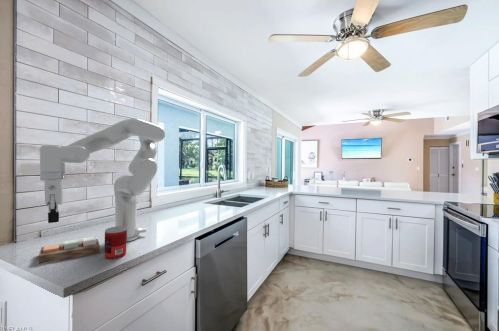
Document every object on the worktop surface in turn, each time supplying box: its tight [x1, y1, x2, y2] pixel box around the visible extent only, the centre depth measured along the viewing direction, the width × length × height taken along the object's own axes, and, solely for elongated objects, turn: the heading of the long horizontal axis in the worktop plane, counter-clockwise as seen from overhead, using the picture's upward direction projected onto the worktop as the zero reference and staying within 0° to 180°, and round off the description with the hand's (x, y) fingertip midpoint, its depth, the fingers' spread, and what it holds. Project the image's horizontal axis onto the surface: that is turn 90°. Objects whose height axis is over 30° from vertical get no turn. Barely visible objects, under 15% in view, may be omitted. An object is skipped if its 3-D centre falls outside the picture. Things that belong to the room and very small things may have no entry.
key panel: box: [37, 238, 101, 265], centre depth 94 cm, size 19×11×3 cm, turn 128°
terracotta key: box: [43, 244, 59, 253], centre depth 90 cm, size 5×5×3 cm
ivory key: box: [82, 236, 97, 246], centre depth 98 cm, size 5×5×3 cm
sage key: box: [63, 238, 79, 249], centre depth 94 cm, size 5×5×3 cm
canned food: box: [103, 226, 128, 260], centre depth 93 cm, size 8×8×11 cm
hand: (53, 222), depth 91 cm, fingers closed
